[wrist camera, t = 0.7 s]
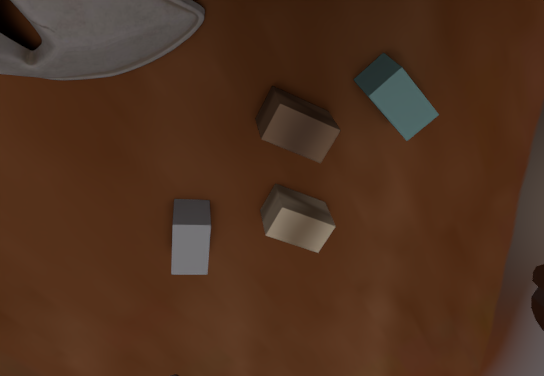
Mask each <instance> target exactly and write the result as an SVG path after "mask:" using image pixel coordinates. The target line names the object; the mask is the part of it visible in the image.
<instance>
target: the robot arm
mask: <svg viewBox="0 0 544 376" xmlns="http://www.w3.org/2000/svg"><path fill="white" fill-rule="evenodd" d="M532 281H533V282H534V283H535V284H536V285H537V286H538V288H537V289H536V291H535V292H534V294H533V295H532V298H531V299H532V300H531V301H532V303H531V306H532V307H531V308H532V311H533V314H534V317H535V319H536V321H537V322H538V324H539V325H540V327H541V328H542V330H543V331H544V264H543V265H540V266H537V267H536V268H535V270H534V272H533V280H532ZM171 376H179V375H177V374H175V375H171Z"/></svg>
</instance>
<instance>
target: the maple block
mask: <svg viewBox="0 0 544 376" xmlns="http://www.w3.org/2000/svg"><path fill="white" fill-rule="evenodd" d="M260 212H261V216H262V221H263V226H264V230H265V235H266V236H269V237H272V238H275V239H278V240H281V241H284V242H287V243H290V244H293V245H296V246H299V247H302V248H305V249H308V250H311V251H314V252H317V253H318V252H319V251H320V249H321V248H322V246H323V245H324V243H325V242H326V240H327V239H328V237H329V236H330V234H331V233H332V231H333V230H334V228H335V227H336V226H335V224H334V221H333V219H332V217H331V215H330V212H329V210H328V208H327V205H326V203H325V202H323V201H321V200H318V199H315V198H313V197H310V196H307V195H305V194H302V193H299V192H297V191H294V190H291V189H289V188H286V187H283V186H281V185H278V184H275V185H274V187H273V189H272V190H271V192H270V194H269V196H268V197H267V199H266V201H265V203H264V204H263V206H262V208H261V210H260Z"/></svg>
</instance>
